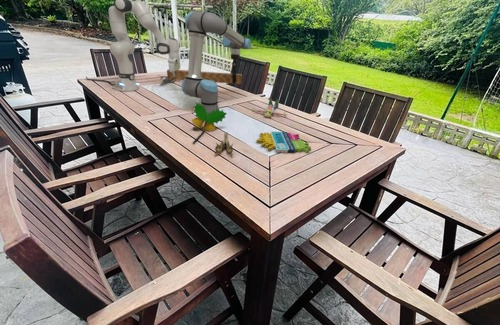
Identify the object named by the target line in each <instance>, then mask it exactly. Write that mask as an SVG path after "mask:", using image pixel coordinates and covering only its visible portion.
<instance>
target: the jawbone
mask: <svg viewBox="0 0 500 325" xmlns="http://www.w3.org/2000/svg"><path fill="white" fill-rule="evenodd" d="M223 135H224V136H223V140H222V139H221V142H220V144H218V142H215V144H216V146H215V148H214V149H215V152H214V154H215V155H217V156H218V155H220V153H221V152H223V151H224V150H226V152H227V153H228V155H229V156H233V155H234V154H233V153H234V148H233V144H234V143H230V140H228V139H229V138H228V137H229V136H228V135H229V133H228V131H226V132H224V134H223Z"/></svg>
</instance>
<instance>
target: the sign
mask: <svg viewBox="0 0 500 325" xmlns="http://www.w3.org/2000/svg"><path fill="white" fill-rule="evenodd" d="M299 136H300V135H299V134H298V133H296V134H294V133H291V132H287V131H270V132H264V133H263V132H260V133H259V139H258V138H257V139H256V143H257V144H261V148H263V147H264V148H265V149H267V151H268V152H271V151H272V150H273V149H275V152H276V153H283V154H285V153H287V154H288V153H290V154H293V153H296V152H298V153H301V152H305V153H310V151H311V150H312V149H311V148H312V146H309V142H304V141H303V139H302V138H299Z"/></svg>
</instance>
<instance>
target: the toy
mask: <svg viewBox="0 0 500 325" xmlns="http://www.w3.org/2000/svg"><path fill="white" fill-rule="evenodd" d="M278 107H279V99H276V100H275V102H274V104H273V100H272V98H271V97H270V98H269V100H268V106H267V107H266V108H265V110H263V109H255V108H254V107H252V108H251V109H250V111H251V112H252V113H255V112H257V113H263V114H262V116H263V117H265V118H272V117H273V115H277V116H283V117H284V118H287V116H288V114H287V113H286V111H285V112H283V113H280V112H278V111H275V109H276V108H278Z"/></svg>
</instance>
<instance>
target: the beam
mask: <svg viewBox="0 0 500 325" xmlns="http://www.w3.org/2000/svg"><path fill="white" fill-rule="evenodd" d="M175 74H176V76H175V77H173V73H172V72H170V71H169V68H168V69H167V70H166V76H167V77H168V79H173V80H176V81H178V80H180V81H183V80H184V79H186V75H188V70H186V69H185V70H183V69H179V70H177V71H175ZM232 74H233V73H232V72H231V73H230V72H215V71H201V77H202V78H203V80H211V81H214V82H216V83H217V84H219V83H220V84H235V85H236V84H237V85H242V84H243V74H242V73H237V74H236V83H232V81H233V75H232Z"/></svg>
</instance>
